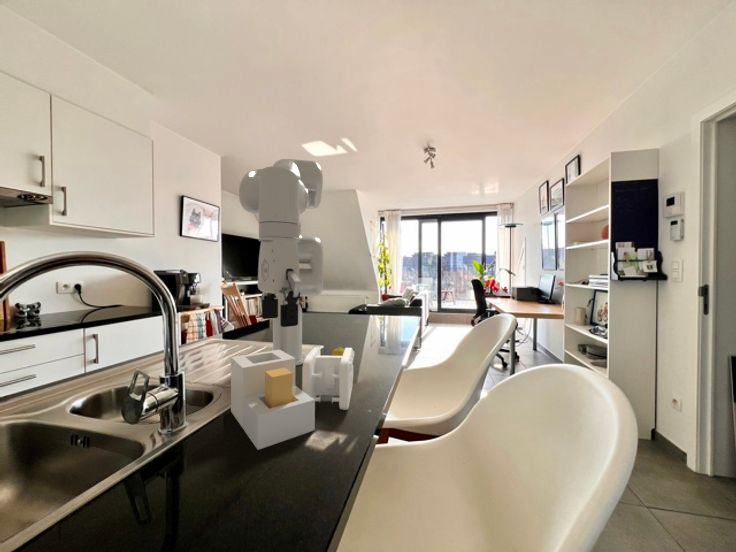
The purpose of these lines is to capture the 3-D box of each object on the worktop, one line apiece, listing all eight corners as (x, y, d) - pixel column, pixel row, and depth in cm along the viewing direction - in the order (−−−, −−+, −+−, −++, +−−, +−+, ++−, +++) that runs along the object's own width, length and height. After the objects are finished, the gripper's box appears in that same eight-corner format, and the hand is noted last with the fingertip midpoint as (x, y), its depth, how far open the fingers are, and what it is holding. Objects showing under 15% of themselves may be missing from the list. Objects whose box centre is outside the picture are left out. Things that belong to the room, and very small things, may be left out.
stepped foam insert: (231, 411, 67) (231, 357, 67) (279, 398, 74) (279, 349, 74) (257, 449, 53) (257, 381, 53) (314, 430, 60) (315, 369, 60)
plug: (264, 411, 60) (265, 371, 60) (284, 406, 63) (284, 367, 63) (272, 419, 57) (272, 377, 57) (292, 413, 60) (292, 372, 59)
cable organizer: (314, 388, 81) (314, 344, 81) (354, 388, 81) (354, 345, 81) (301, 415, 66) (301, 361, 66) (349, 416, 66) (350, 362, 66)
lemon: (349, 370, 95) (349, 345, 95) (346, 376, 90) (346, 349, 90) (332, 369, 96) (332, 344, 96) (328, 376, 90) (328, 349, 90)
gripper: (246, 235, 64) (246, 317, 65) (277, 228, 50) (277, 332, 51) (280, 238, 69) (280, 314, 69) (318, 232, 55) (317, 327, 55)
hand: (279, 321), depth 60 cm, fingers open, 9 cm apart
